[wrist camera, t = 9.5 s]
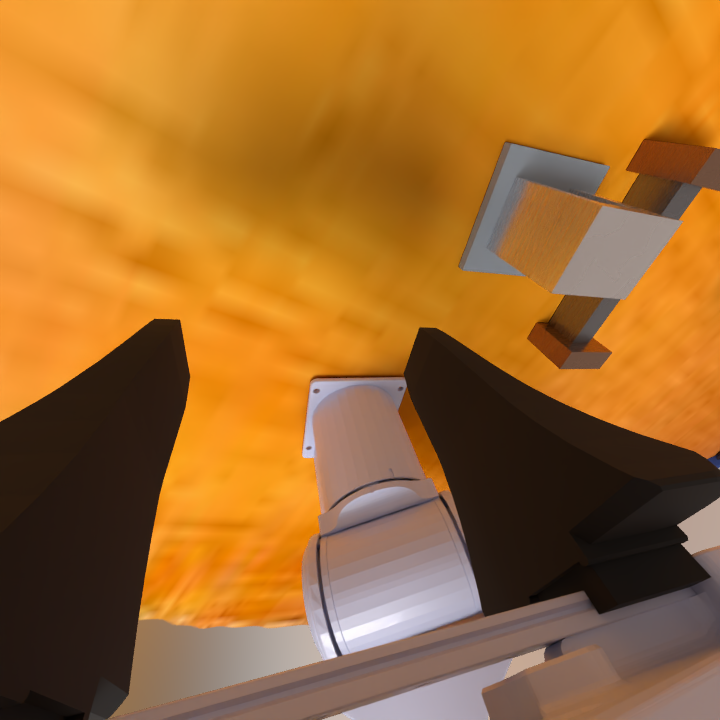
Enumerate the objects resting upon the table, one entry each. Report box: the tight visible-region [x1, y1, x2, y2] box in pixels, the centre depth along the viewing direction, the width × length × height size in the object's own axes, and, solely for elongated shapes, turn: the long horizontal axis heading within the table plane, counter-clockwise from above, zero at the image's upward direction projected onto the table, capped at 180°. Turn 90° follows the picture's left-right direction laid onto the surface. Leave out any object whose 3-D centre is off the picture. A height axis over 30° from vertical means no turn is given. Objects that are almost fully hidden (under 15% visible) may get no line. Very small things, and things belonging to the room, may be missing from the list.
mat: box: [459, 142, 610, 276], centre depth 20 cm, size 7×7×1 cm
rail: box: [527, 140, 720, 369], centre depth 22 cm, size 14×4×4 cm, turn 169°
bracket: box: [486, 177, 683, 299], centre depth 18 cm, size 4×5×6 cm
